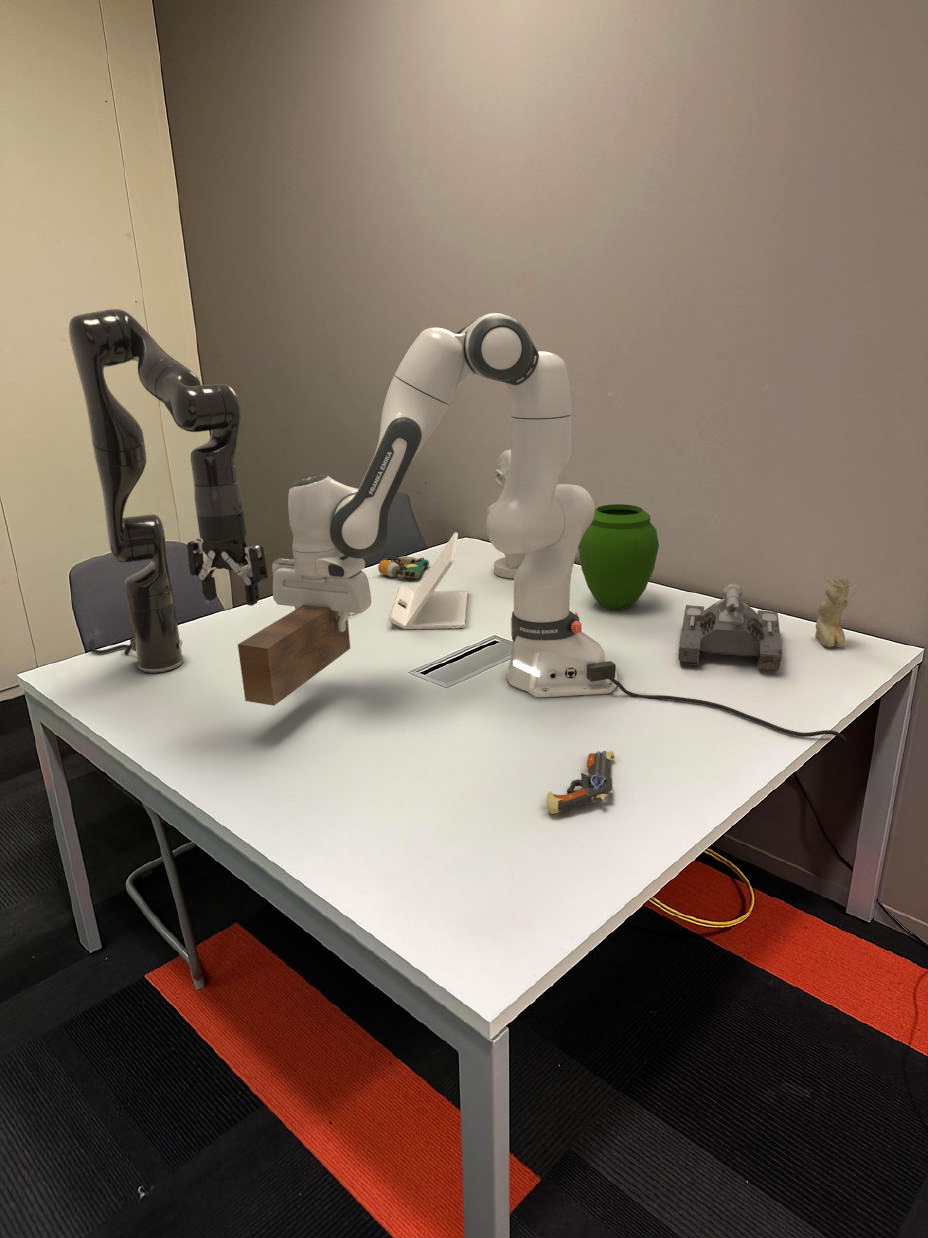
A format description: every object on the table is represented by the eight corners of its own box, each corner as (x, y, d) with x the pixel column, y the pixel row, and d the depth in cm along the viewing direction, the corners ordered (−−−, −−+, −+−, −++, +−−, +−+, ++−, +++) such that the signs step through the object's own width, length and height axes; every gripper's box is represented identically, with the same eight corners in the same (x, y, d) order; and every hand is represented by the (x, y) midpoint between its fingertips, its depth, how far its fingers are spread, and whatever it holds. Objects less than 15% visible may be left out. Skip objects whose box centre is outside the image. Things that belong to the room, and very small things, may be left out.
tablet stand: (467, 593, 225) (465, 531, 219) (465, 628, 202) (462, 559, 196) (399, 594, 226) (395, 532, 220) (388, 629, 203) (384, 560, 197)
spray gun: (398, 563, 255) (442, 570, 249) (369, 576, 241) (416, 584, 235) (398, 549, 254) (443, 556, 248) (369, 561, 239) (416, 569, 233)
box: (324, 645, 174) (319, 595, 170) (350, 648, 172) (346, 597, 168) (245, 701, 150) (237, 644, 147) (274, 705, 148) (267, 648, 144)
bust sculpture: (503, 593, 225) (502, 460, 212) (483, 567, 247) (480, 445, 234) (562, 587, 228) (563, 456, 215) (536, 562, 250) (536, 441, 237)
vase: (599, 587, 227) (601, 497, 218) (668, 600, 216) (673, 505, 208) (562, 608, 212) (564, 513, 204) (634, 623, 202) (639, 523, 193)
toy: (684, 625, 200) (688, 563, 194) (774, 632, 194) (781, 569, 189) (677, 668, 177) (681, 599, 172) (779, 677, 172) (787, 607, 166)
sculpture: (821, 649, 184) (830, 583, 179) (808, 637, 191) (816, 573, 185) (848, 649, 184) (858, 582, 179) (834, 636, 191) (843, 572, 185)
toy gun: (544, 802, 127) (611, 800, 125) (554, 748, 145) (614, 745, 143) (546, 819, 128) (613, 817, 126) (556, 762, 146) (615, 760, 144)
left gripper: (170, 511, 140) (184, 604, 146) (242, 517, 135) (253, 613, 141) (199, 501, 147) (211, 591, 153) (269, 506, 142) (279, 598, 147)
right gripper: (262, 561, 163) (270, 629, 168) (356, 570, 156) (362, 640, 161) (280, 552, 169) (288, 618, 174) (372, 560, 161) (377, 628, 166)
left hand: (232, 601), depth 147 cm, fingers open, 8 cm apart
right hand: (324, 629), depth 167 cm, fingers closed on box, 6 cm apart
